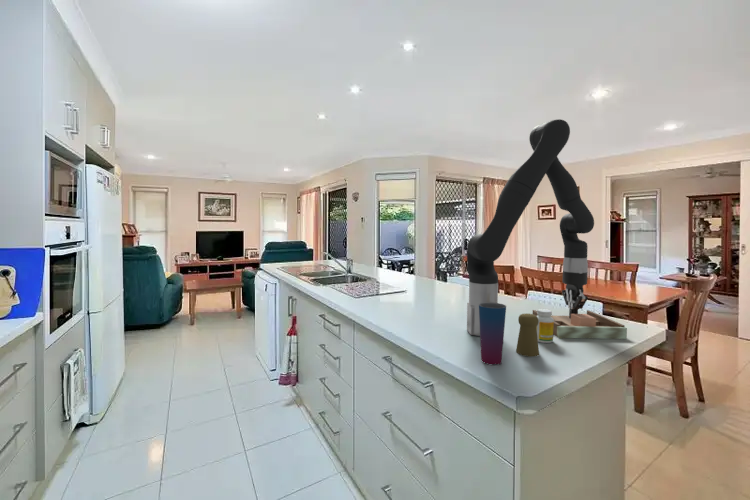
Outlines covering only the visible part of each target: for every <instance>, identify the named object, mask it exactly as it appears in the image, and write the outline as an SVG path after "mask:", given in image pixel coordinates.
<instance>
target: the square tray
mask: <svg viewBox="0 0 750 500" xmlns="http://www.w3.org/2000/svg"><path fill="white" fill-rule="evenodd" d="M532 314H533V315H536V316H538V314H537V310H536V309H532ZM586 314H587V315H590V316H592V317H594V318H596V327H589V326H574V325H572V324H571V319H570V318H569V315H551V316H550V317H552V318H553V320H554V326H553V336H555V337H556V338H558V339H599V340H600V339H604V340H605V339H609V340H610V339H611V340H616V339H617V340H619V339H620V340H626V339H628V337H627V335H628V327H626V326H625V325H624V324H622V323H619V322H618V321H615V320H613V319H610V318H609V317H605V316H604V315H602V314H598V313H595V312H594V311H592V310H587V311H586Z"/></svg>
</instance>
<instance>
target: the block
mask: <svg viewBox="0 0 750 500" xmlns="http://www.w3.org/2000/svg"><path fill="white" fill-rule="evenodd" d="M571 324H572V325H574V326H589V327H596V318H594V317H592V316H590V315H587V313H578V314H571Z"/></svg>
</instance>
